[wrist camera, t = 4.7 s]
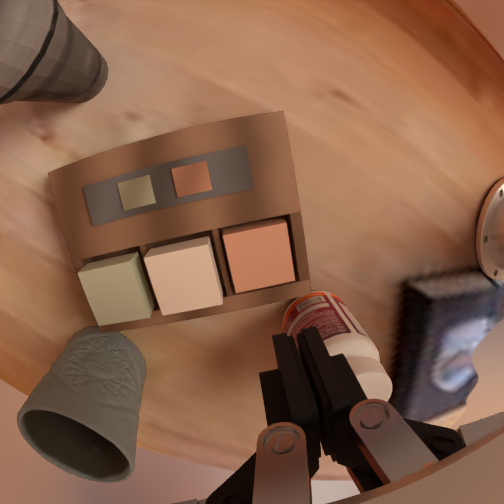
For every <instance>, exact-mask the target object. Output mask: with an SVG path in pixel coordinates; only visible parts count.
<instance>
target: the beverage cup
mask: <svg viewBox="0 0 504 504" xmlns="http://www.w3.org/2000/svg"><path fill="white" fill-rule="evenodd" d="M107 77H108V66H107V62H106V61H105V59H104V58H103V57H102V55H101V54H100V53H99V51H98V50H97V49H96V48H95V47H94V45H93V44H92V43H91V42H90V41H89V40H88V39H87V38H86V37H85V36H84V35H83V33H82V32H81V31H80V30H79V29H78V28H77V27H76V26H75V25H74V24H73V23H72V22H71V20H70V19H69V18H68V17H67V16H66V14H65V12H64V11H63V9H62V7H61V6H60V4H59V3H58V1H57V0H0V105H1V104H6V103H10V102H13V101H40V102H61V103H73V102H77V103H80V102H86V101H88V100H90V99H92V98H93V97H95V96H96V95H97V94H98V93H99V92H100V91H101V89H102V88H103V86H104V85H105V82H106V80H107Z"/></svg>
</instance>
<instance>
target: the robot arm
mask: <svg viewBox="0 0 504 504" xmlns="http://www.w3.org/2000/svg"><path fill="white" fill-rule="evenodd" d="M476 252H477V258H478V262H479V265H480V267H481V269H482V271H483V272H484V273H485V274H486V275H487V276H489V277H490V278H492V279H494V280H504V178H503V179H501V180H500V181H498V182H497V183H496V184H495V185H494V187H493V188H492V189H491V191H490V192H489V194H488V196H487V198H486V199H485V202H484V204H483V207H482V210H481V213H480V217H479V221H478V226H477V234H476ZM272 339H273V344H274V349H275V354H276V360H277V365H278V369H275V370H270V371H266V372H260V373H259V376H260V382H261V388H262V394H263V400H264V406H265V412H266V418H267V424H268V427H266V428H265V429H264V430H263V431H262V432H261V433H260V435H259V436H258V440H257V449H256V452H255V453H254V454H253V455H252V456H251V457H250V458H249V459H248V460H247V461H246V462H245V463H244V464H243V465H242V466H241V467H240V468H239V469H238V470H237V471H236V472H235V473H234V474H233V475H232V476H231V477H229V478H228V479H227V480H226V481H225V482H224V483H223V484H222V485H221V486H220V487H218V488H217V489H216V490H215V491H214V492H213V493H212V494H211V495H210V496H209V497H208V498H207V499H203V500H199V501H198V500H197V499H193V500H188V501H184V502H179V503H174V504H312V492H311V478H312V477H313V476H314V474H315V473H316V472H317V471H318V469H319V458H320V457H321V446H320V441H321V444H322V447H323V451H324V454H325V456H327V455H331V457H332V461H333V462H334V461H337V463H338V464H341V465H343V466H346V468H347V471H348V473H349V474H350V476H351V478H352V480H353V481H354V483H355V484H356V486H357V488H358V490H359V491H360V493H361V494H359V495H355V496H352V497H349V498H345V499H342V500H339V501H335V502H331V503H327V504H504V412H500V413H497V414H495V415H492V416H489V417H487V418H483V419H480V420H478V421H475V422H471V423H468V424H465V425H462V426H459V428H458V429H457V430H453V429H450V428H446V427H441V426H436V425H431V424H427V423H422V422H418V421H413V420H409V419H405V418H402V417H401V416H400V415H399V414H398V412H397V411H396V410H395V409H394V408H393V407H392V405H390V404H389V403H388V402H386V401H384V400H381V399H368V398H367V396H366V394H365V393H364V391H363V389H362V387H361V385H360V383H359V381H358V380H357V378H356V376H355V374H354V372H353V370H352V368H351V367H350V365H349V363H348V361H347V359H346V357H345V356H344V354H342V353H341V354H338V355H334V356H330V354H329V352H328V350H327V348H326V346H325V344H324V342H323V340H322V338H321V336H320V334H319V332H318V330H317V328H316V326H313V327H309V328H304V329H301V333H299V334H297V342H298V349H297V346H296V343H295V341H294V338H293V335H291V336H287V334H286V333H282V334H278V335H273V336H272ZM298 350H299V352H298Z"/></svg>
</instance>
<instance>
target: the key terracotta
mask: <svg viewBox="0 0 504 504" xmlns="http://www.w3.org/2000/svg"><path fill="white" fill-rule="evenodd" d="M223 239H224V243H225V248H226V252H227V257H228V261H229V266H230V270H231V274H232V279H233V283H234V287H235V292H236V293H239V292H244V291H249V290H254V289H258V288H263V287H268V286H272V285H277V284H282V283H286V282H291V281H295V276H294V269H293V263H292V256H291V249H290V243H289V236H288V230H287V224H286V222H285V221H284V219H283V218H282V217H277V218H272V219H267V220H262V221H257V222H252V223H247V224H242V225H237V226H232V227H228V228H223Z"/></svg>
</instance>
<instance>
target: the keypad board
mask: <svg viewBox="0 0 504 504" xmlns="http://www.w3.org/2000/svg"><path fill="white" fill-rule="evenodd" d="M48 176H49V180H50V185H51V189H52V193H53V197H54V201H55V205H56V209H57V212H58V216H59V220H60V223H61V227H62V230H63V233H64V237H65V240H66V243H67V246H68V249H69V252H70V255H71V258H72V261H73V264H74V267H75V270H76V273H77V275H78V272H79V271H80V270H81V269H82V268H83V267H84V266H85V265H86V264H87V263H92V262H96V261H100V260H104V259H109V258H113V257H117V256H121V255H126V254H130V253H135V252H138V255H139V258H140V261H141V264H142V268H143V271H144V274H145V277H146V280H147V283H148V286H149V289H150V292H151V295H152V298H153V301H154V304H155V306H154V309H153V311H152V314H151V316H150V318H145V319H139V320H133V321H127V322H121V323H114V324H108V325H101V326H98V327H99V329H100V332H101V333H108V332H115V331H122V330H128V329H135V328H141V327H148V326H154V325H160V324H166V323H172V322H177V321H183V320H189V319H194V318H200V317H205V316H210V315H216V314H221V313H226V312H231V311H236V310H241V309H246V308H251V307H256V306H260V305H265V304H270V303H274V302H279V301H283V300H288V299H292V298H297V297H301V296H306V295H310V294H312V293H311V285H310V276H309V268H308V260H307V253H306V245H305V238H304V231H303V224H302V217H301V210H300V203H299V197H298V191H297V184H296V178H295V172H294V166H293V160H292V155H291V149H290V143H289V138H288V132H287V127H286V122H285V116H284V111H277V112H270V113H264V114H257V115H251V116H245V117H240V118H234V119H229V120H224V121H219V122H214V123H209V124H205V125H200V126H196V127H191V128H187V129H183V130H179V131H175V132H171V133H167V134H163V135H159V136H155V137H152V138H148V139H145V140H141V141H138V142H134V143H131V144H128V145H124V146H121V147H118V148H115V149H112V150H109V151H106V152H103V153H100V154H97V155H94V156H91V157H88V158H85V159H82V160H80V161H77V162H74V163H72V164H69V165H66V166H64V167H61V168H59V169H56V170H54V171H51V172H49V173H48ZM277 217H282V218H283V219H284V221H285V222H286V224H287V230H288V236H289V243H290V249H291V256H292V263H293V269H294V276H295V281H291V282H286V283H282V284H277V285H272V286H268V287H263V288H258V289H254V290H249V291H244V292H239V293H236V292H235V287H234V283H233V279H232V274H231V270H230V266H229V261H228V257H227V252H226V248H225V243H224V239H223V228H228V227H232V226H237V225H242V224H247V223H252V222H257V221H262V220H267V219H272V218H277ZM207 236H209V238H210V242H211V247H212V251H213V255H214V259H215V263H216V267H217V271H218V275H219V280H220V284H221V288H222V292H223V304H222V305H217V306H212V307H207V308H201V309H196V310H191V311H185V312H180V313H174V314H169V315H162V312H161V310H160V307H159V304H158V301H157V298H156V295H155V292H154V289H153V286H152V283H151V280H150V277H149V274H148V271H147V267H146V264H145V261H144V257H145V255H146V254H147V253H148V251H149V250H150V249H152V248H157V247H161V246H166V245H170V244H175V243H179V242H184V241H188V240H193V239H198V238H202V237H207ZM78 278H79V276H78ZM79 281H80V279H79ZM80 283H81V282H80ZM81 286H82V284H81ZM82 289H83V287H82ZM83 291H84V289H83ZM84 294H85V292H84ZM85 296H86V295H85ZM86 299H87V297H86ZM87 301H88V300H87ZM88 304H89V302H88ZM89 306H90V305H89ZM90 309H91V307H90ZM91 311H92V309H91ZM92 313H93V312H92ZM93 316H94V314H93ZM94 318H95V316H94ZM95 320H96V319H95ZM96 323H97V321H96ZM97 325H98V323H97Z"/></svg>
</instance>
